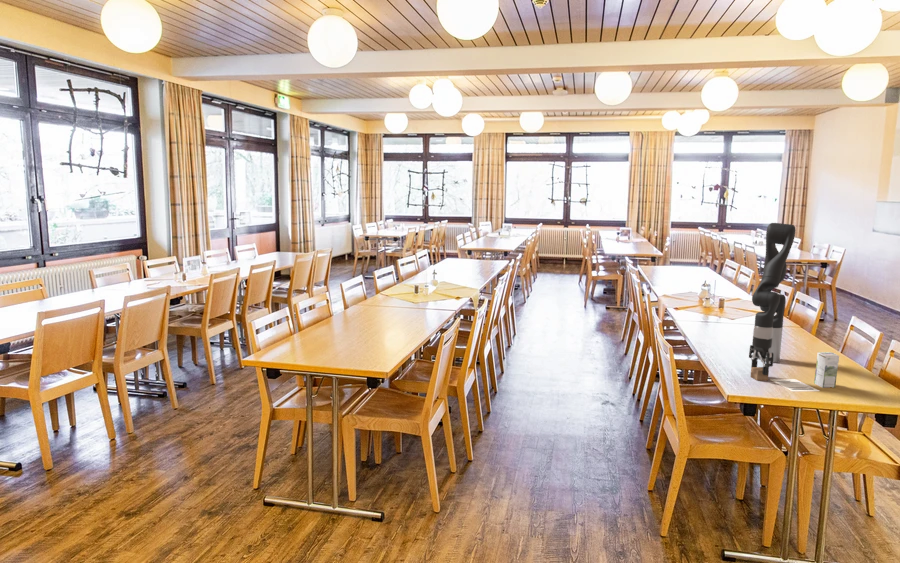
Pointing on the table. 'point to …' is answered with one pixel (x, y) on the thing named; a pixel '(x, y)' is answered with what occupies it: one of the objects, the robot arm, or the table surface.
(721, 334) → the table surface
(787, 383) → the letter
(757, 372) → the walnut block
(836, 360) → the syrup box
